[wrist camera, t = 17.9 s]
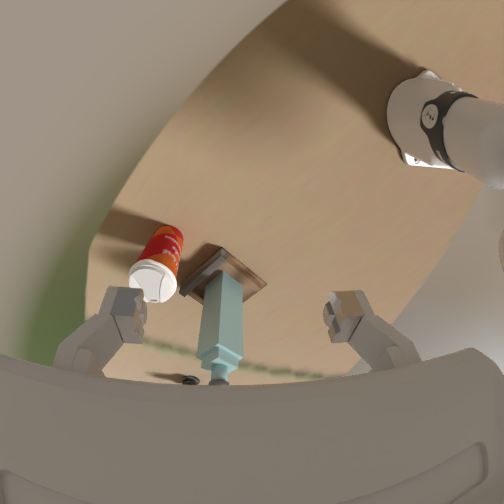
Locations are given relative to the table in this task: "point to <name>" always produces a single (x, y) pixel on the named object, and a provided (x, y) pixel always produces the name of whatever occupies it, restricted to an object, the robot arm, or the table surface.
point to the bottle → (221, 328)
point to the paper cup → (158, 265)
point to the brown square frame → (213, 268)
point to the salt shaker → (190, 380)
